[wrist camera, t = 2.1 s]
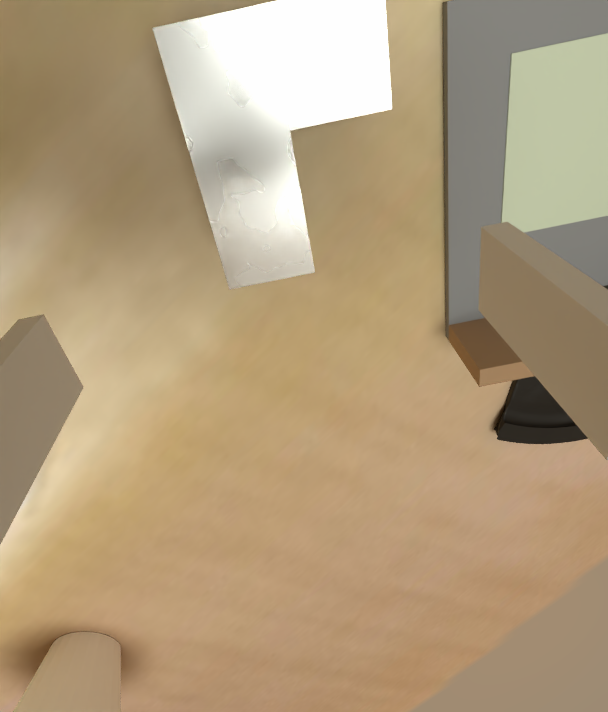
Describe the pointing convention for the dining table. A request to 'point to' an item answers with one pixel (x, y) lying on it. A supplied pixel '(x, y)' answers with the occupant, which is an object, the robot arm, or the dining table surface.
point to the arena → (521, 150)
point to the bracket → (269, 114)
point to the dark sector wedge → (535, 416)
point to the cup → (76, 676)
